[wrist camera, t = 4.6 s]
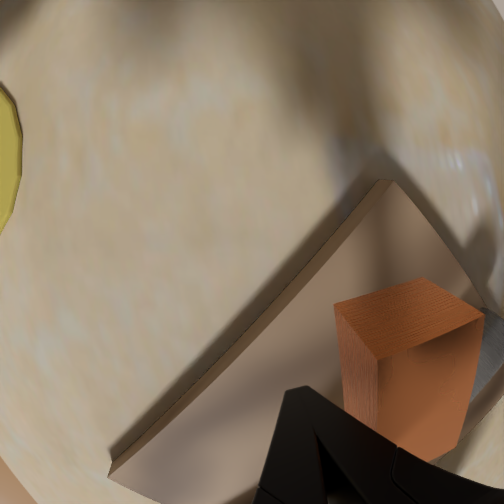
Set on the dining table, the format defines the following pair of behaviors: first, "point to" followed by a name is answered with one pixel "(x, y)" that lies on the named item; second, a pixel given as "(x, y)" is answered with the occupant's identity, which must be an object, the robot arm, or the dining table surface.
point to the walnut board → (291, 359)
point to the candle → (9, 157)
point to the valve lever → (409, 363)
